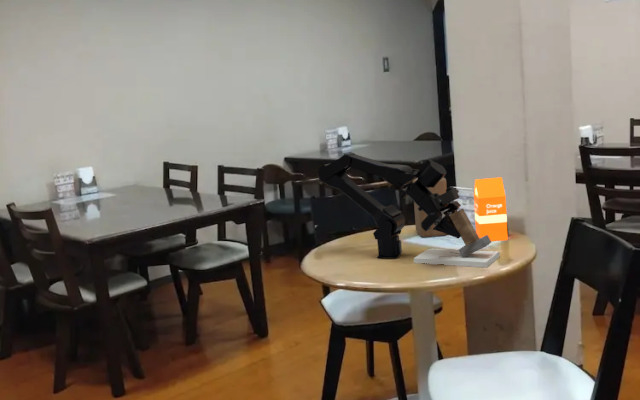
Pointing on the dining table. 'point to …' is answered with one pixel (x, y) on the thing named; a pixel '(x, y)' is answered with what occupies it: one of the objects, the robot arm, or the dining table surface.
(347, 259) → the dining table surface
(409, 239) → the dining table surface
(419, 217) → the wooden block
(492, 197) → the orange juice
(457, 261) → the primed board
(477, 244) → the brown post on stand
